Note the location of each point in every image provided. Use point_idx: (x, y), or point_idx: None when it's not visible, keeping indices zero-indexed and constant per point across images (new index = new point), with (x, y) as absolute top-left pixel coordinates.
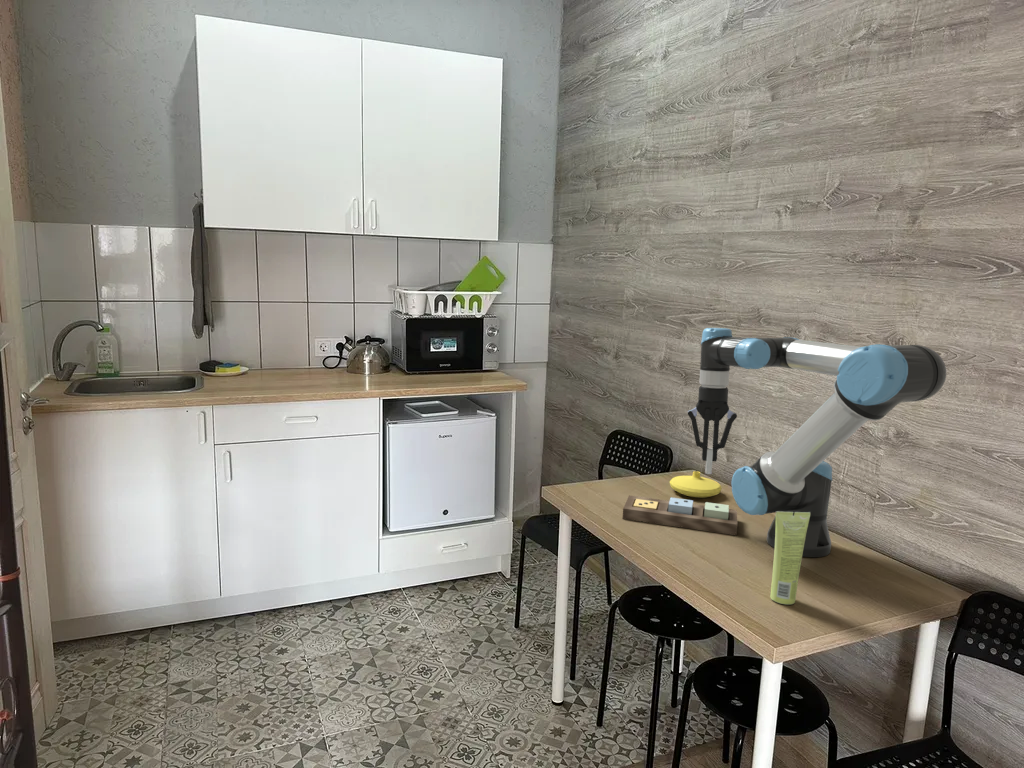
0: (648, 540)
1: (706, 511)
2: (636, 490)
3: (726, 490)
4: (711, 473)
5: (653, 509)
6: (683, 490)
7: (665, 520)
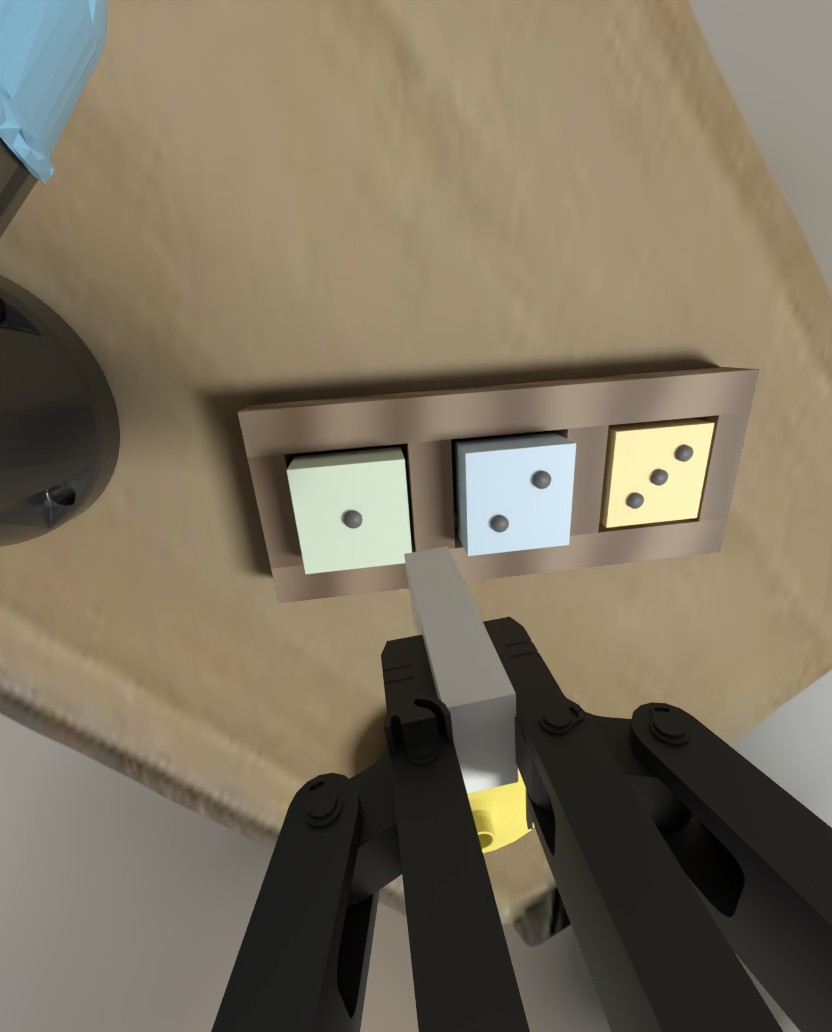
0: (616, 121)
1: (394, 457)
2: (655, 692)
3: None
4: (405, 557)
5: (623, 430)
6: None
7: (557, 382)
